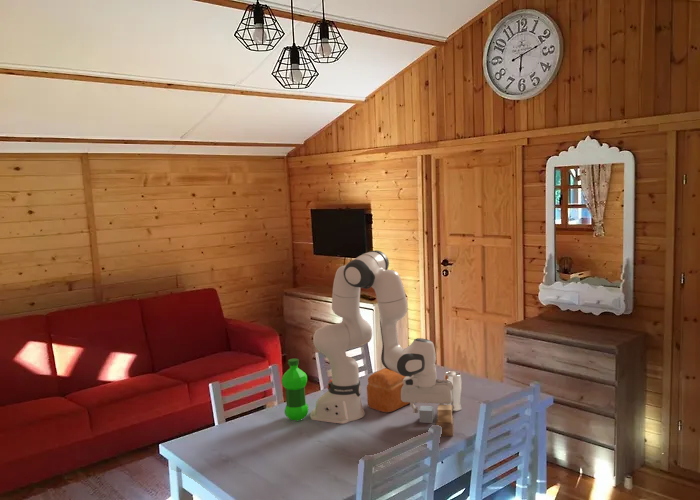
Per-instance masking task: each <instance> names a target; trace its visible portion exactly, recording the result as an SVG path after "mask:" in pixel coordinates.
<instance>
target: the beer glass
mask: <svg viewBox="0 0 700 500" xmlns="http://www.w3.org/2000/svg"><path fill="white" fill-rule="evenodd" d="M444 380H448V381H450V382H451V383H452V390H451V391H452V397H453V400H452V402H451V403H450V404H446V405H452V412H459V411H461V410H462V405H461V396H462V386H463V383H462V373H461V372H460V371H457V370H455V371H454V370H451V371H446V372H445V373H444Z"/></svg>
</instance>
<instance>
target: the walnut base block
mask: <svg viewBox="0 0 700 500" xmlns="http://www.w3.org/2000/svg"><path fill="white" fill-rule="evenodd" d="M435 425H439V426H441V427H442V434H441V436H440V437H454V430H455V429H454V428H455V425H454V417H453V416H452V423H439V422H438V416H437V417H436V422H435Z"/></svg>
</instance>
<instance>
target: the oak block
mask: <svg viewBox="0 0 700 500" xmlns="http://www.w3.org/2000/svg"><path fill="white" fill-rule="evenodd" d="M437 410H438V414H437V417H438V422H439V423H452V417H453V411H452V405H447V404H444V405H440V404H438V405H437V409H436V411H437Z"/></svg>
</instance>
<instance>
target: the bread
mask: <svg viewBox="0 0 700 500" xmlns="http://www.w3.org/2000/svg"><path fill="white" fill-rule="evenodd" d="M405 377H406V376H402V375H400V374H398V373H396V372H394V371H392V370H389V369H387V368H385V367H384V368H382V369H380V370H378V371H376V372H374V373H372V374H371V375H369V376H368V378H367V386H366V397H367V399H366V400H367V406H368V407H369V409H373V410H376V411H378V412H382V413H392V412H394V411H396V410H399V409H401V408H403V407H405V406H407V405H410V402H403V401H402V400H401V388H402V386H403V379H404V378H405Z"/></svg>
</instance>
